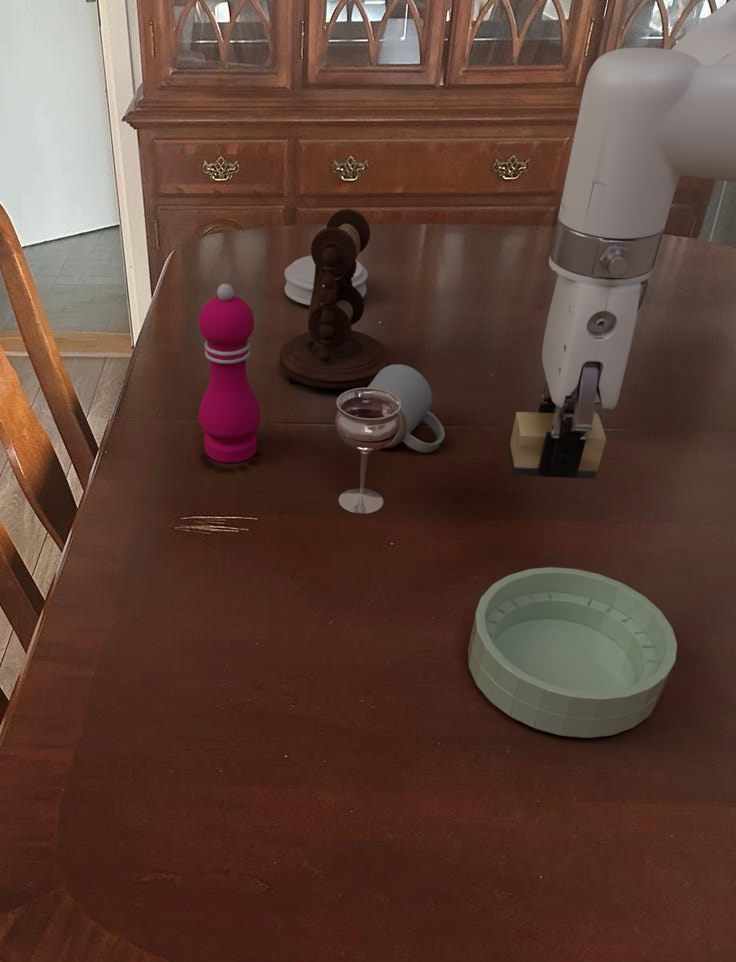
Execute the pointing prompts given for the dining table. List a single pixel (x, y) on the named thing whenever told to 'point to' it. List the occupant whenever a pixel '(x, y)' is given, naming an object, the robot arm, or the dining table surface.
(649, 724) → the dining table surface
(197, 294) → the dining table surface
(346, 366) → the dark brown wooden stand
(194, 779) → the dining table surface
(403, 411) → the ceramic mug
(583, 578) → the bowl
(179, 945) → the dining table surface
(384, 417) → the wineglass
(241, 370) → the pepper mill
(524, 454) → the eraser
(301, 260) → the lid
